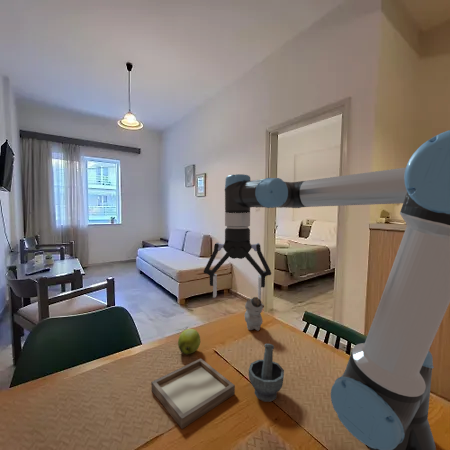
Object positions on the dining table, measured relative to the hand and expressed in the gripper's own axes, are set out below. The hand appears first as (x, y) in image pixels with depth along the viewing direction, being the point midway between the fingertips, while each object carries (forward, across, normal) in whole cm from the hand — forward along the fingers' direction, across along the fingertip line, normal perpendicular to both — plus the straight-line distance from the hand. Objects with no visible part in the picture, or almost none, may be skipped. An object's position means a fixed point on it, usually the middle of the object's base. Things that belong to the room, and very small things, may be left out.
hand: (237, 297), depth 77 cm
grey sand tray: (+24, +12, +9) cm, 29 cm away
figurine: (+24, -6, -29) cm, 38 cm away
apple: (+24, +17, -10) cm, 31 cm away
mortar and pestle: (+25, -9, +6) cm, 27 cm away
